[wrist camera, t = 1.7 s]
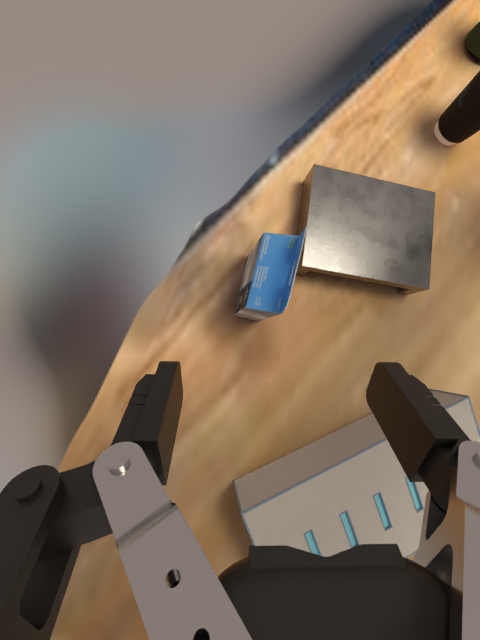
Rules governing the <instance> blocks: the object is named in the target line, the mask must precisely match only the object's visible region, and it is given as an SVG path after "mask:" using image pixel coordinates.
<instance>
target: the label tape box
mask: <svg viewBox="0 0 480 640" xmlns="http://www.w3.org/2000/svg"><path fill="white" fill-rule="evenodd" d="M306 229H307V227H305V229H304V230H303V231H302V233H301V234H300V236H294V235H283V234H272V233H263V235H262V236H261V238H260V239H259V241H258V242H257V244H256V246H255V247H254V249H253V250H252V251H251V253H250V254H249V255H248V258H247V262H246V266H245V270H244V274H243V278H242V283H241V287H240V291H239V295H238V299H237V303H236V307H235V312H234V315H235V316H240V317H244V318H248V319H251V320H255V321H261V320H264V319H267V318H269V317H272V316H275V315H279V314H281V313H282V312H283V311H284V310H285V309H286V308H287V306H288V303H289V300H290V296H291V292H292V288H293V284H294V280H295V276H296V272H297V268H298V264H299V260H300V256H301V251H302V247H303V242H304V238H305V233H306ZM295 260H296V263H295ZM294 264H295V266H294ZM293 269H294V272H293ZM292 273H293V274H292ZM291 277H292V278H291ZM290 281H291V282H290Z"/></svg>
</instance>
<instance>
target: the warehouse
mask: <svg viewBox="0 0 480 640" xmlns="http://www.w3.org/2000/svg"><path fill="white" fill-rule="evenodd" d="M429 390H430V391H431V393H432V394H433V397H436V399H437V400H438V401H439V402H440V403H441V406H443V407H444V408H445V410H446V411H447V412H448V413H449V414H450V416H451V417H452V418H453V419H454V420H455V422H456V423H457V424H458V425H459V426H460V428H461V429H462V430H463V431H464V433H465V434H466V435H467V436H468V437H469V439H470V440H471V441H477V442H480V430H479V427H478V424H477V420H476V417H475V414H474V410H473V407H472V403H471V400H470V397H469V396H466V395H461V394H455V393H450V392H444V391H439V390H433V389H429ZM233 485H234V489H235V493H236V497H237V501H238V506H239V510H240V514H241V516H242V519H243V521H244V524H245V526H246V529H247V531H248V534H249V536H250V539H251V541H252V544H253V546H279V545H287V546H290V547H293V548H297V549H300V550H303V551H307V552H310V553H314V554H317V555H320V556H324V557H328V556H332V555H334V554H337V553H340V552H342V551H345V550H347V549H350V548H353V547H355V546H358V545H361V544H397V545H398V547H399V549H400V552H401V554H402V556H403V557H405V558H408V557H410V556H411V555H413V554H415V553H416V552H417V550H418V547H419V542H420V536H421V529H422V522H423V515H424V508H425V500H426V495H427V492H428V491H429V490H428V488H427V487H426V485H425V483H424V482H410V481H409V479H408V477H407V476H406V474H405V472H404V470H403V468H402V466H401V464H400V463H399V461H398V459H397V457H396V455H395V453H394V451H393V450H392V448H391V446H390V444H389V442H388V440H387V438H386V437H385V435H384V433H383V431H382V429H381V427H380V425H379V424H378V422H377V420H376V418H375V416H374V414H373V413H371V414H369V415H367V416H365V417H363V418H361V419H359V420H357V421H355V422H353V423H351V424H349V425H347V426H345V427H343V428H341V429H339V430H337V431H335V432H332V433H330V434H328V435H326V436H324V437H322V438H320V439H318V440H316V441H314V442H312V443H310V444H308V445H306V446H304V447H302V448H300V449H298V450H296V451H294V452H292V453H290V454H288V455H286V456H284V457H282V458H279V459H277V460H275V461H273V462H271V463H269V464H267V465H265V466H263V467H261V468H259V469H257V470H255V471H253V472H251V473H249V474H247V475H245V476H243V477H241V478H239V479H237V480H235V481H234V480H233Z"/></svg>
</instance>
